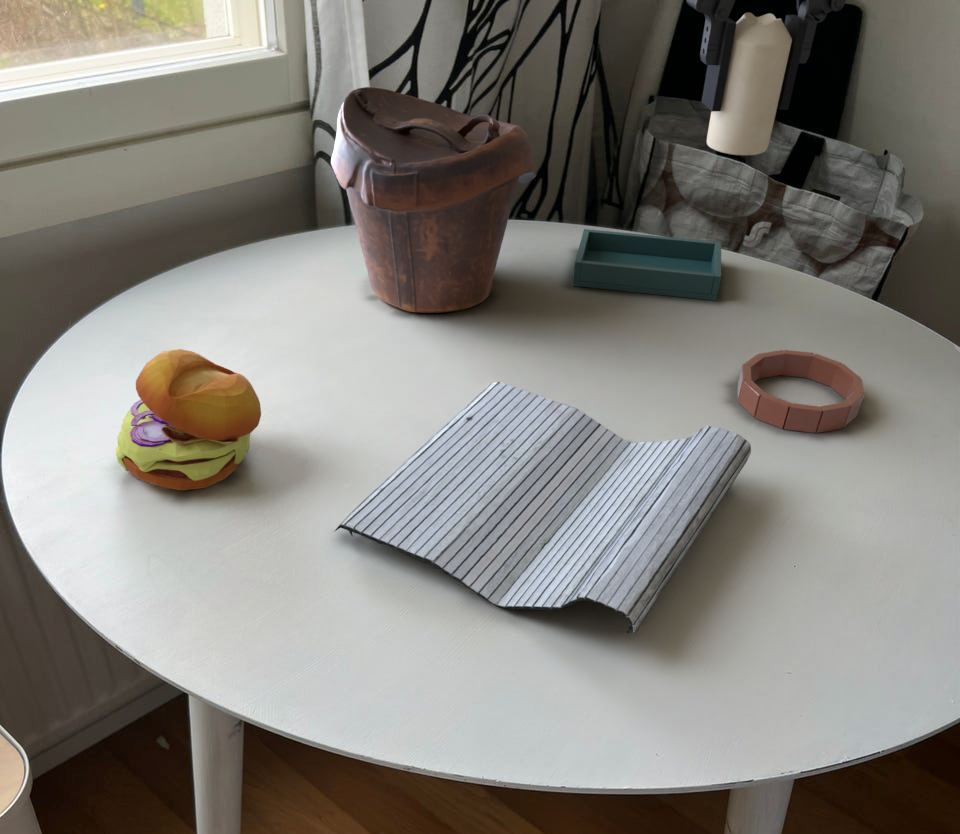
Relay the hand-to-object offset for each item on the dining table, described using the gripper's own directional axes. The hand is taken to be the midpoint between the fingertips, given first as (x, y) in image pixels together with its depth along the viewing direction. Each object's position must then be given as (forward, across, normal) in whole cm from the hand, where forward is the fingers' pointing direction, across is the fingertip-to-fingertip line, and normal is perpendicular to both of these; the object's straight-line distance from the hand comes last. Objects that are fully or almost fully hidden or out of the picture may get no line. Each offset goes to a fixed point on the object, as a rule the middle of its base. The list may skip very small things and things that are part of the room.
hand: (744, 105), depth 83 cm
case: (+20, +26, -11) cm, 35 cm away
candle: (+4, 0, 0) cm, 4 cm away
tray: (+20, +2, -12) cm, 23 cm away
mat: (+20, +23, +30) cm, 43 cm away
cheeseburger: (+20, +50, +18) cm, 57 cm away
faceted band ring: (+20, -3, +16) cm, 26 cm away
